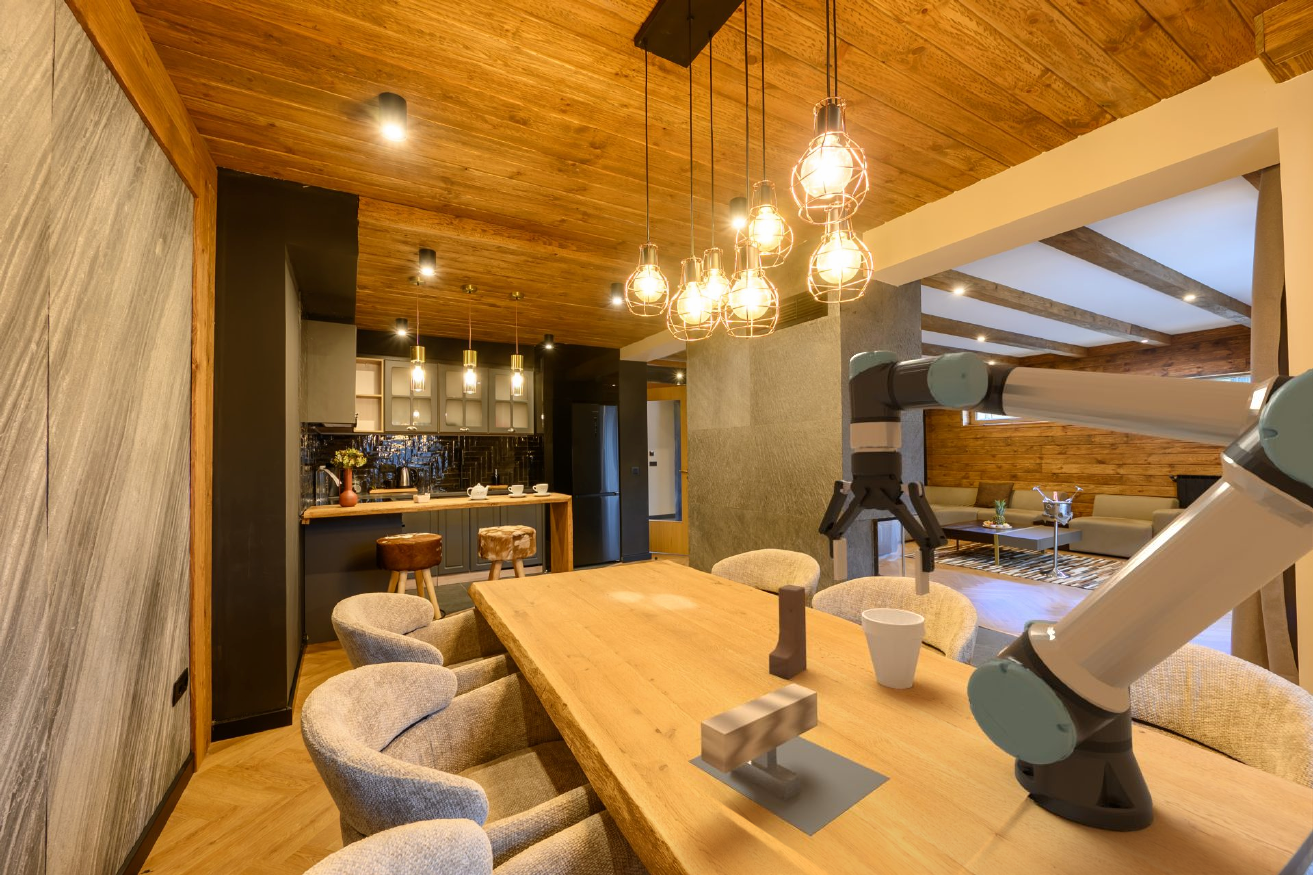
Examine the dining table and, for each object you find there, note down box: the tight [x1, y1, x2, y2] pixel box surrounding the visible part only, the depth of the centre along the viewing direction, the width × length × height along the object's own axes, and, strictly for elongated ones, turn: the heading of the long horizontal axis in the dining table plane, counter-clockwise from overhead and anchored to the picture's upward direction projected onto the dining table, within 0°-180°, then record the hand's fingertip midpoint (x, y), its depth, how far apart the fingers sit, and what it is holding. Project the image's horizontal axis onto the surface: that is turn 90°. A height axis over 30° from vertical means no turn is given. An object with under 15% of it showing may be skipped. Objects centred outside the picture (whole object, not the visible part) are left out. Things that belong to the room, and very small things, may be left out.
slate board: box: [688, 735, 891, 837], centre depth 82 cm, size 22×19×1 cm
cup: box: [861, 607, 927, 690], centre depth 116 cm, size 12×12×14 cm
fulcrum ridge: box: [732, 748, 800, 802], centre depth 79 cm, size 10×3×6 cm, turn 39°
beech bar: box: [700, 682, 819, 774], centre depth 80 cm, size 20×4×5 cm, turn 129°
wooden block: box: [768, 584, 808, 680], centre depth 123 cm, size 9×4×18 cm, turn 137°
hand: (879, 586), depth 87 cm, fingers open, 13 cm apart
